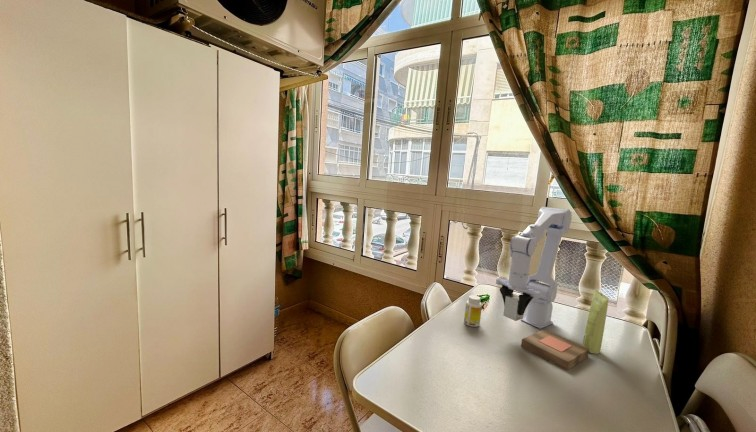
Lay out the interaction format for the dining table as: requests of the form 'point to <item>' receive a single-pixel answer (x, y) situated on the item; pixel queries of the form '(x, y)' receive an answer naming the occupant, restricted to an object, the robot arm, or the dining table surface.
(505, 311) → the steel column
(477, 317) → the supplement bottle
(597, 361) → the dining table surface
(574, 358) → the board
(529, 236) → the robot arm
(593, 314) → the tube
